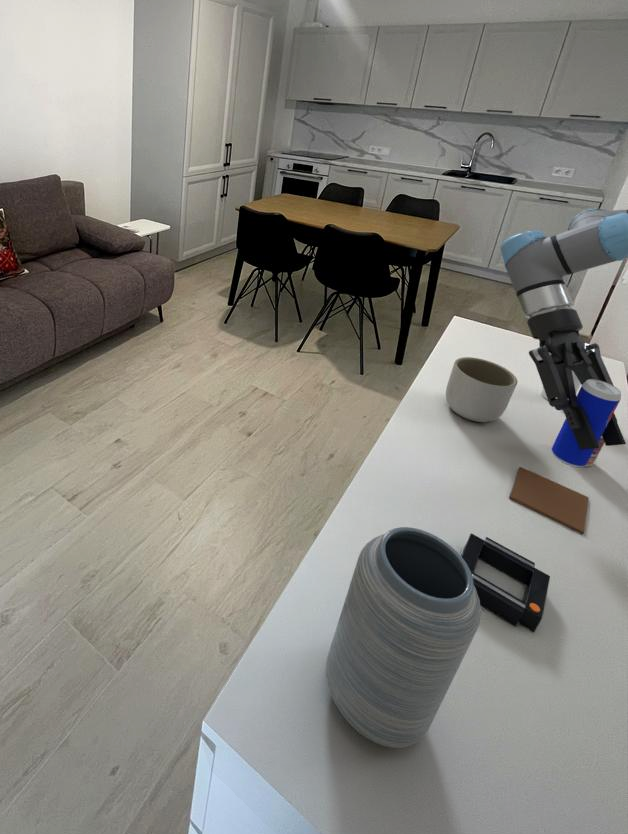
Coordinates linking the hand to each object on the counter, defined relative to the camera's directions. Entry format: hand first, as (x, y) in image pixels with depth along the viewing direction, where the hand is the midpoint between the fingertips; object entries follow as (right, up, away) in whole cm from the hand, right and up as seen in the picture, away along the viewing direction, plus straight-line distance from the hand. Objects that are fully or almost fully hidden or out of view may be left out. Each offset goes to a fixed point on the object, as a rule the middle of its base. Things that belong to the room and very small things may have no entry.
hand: (602, 446), depth 82 cm
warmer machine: (-23, -18, -8) cm, 30 cm away
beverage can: (-1, -4, +6) cm, 7 cm away
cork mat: (-2, -12, +9) cm, 16 cm away
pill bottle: (+12, -9, +21) cm, 26 cm away
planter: (-2, -2, +33) cm, 33 cm away
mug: (+25, 0, +43) cm, 49 cm away
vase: (-47, -23, -23) cm, 57 cm away
